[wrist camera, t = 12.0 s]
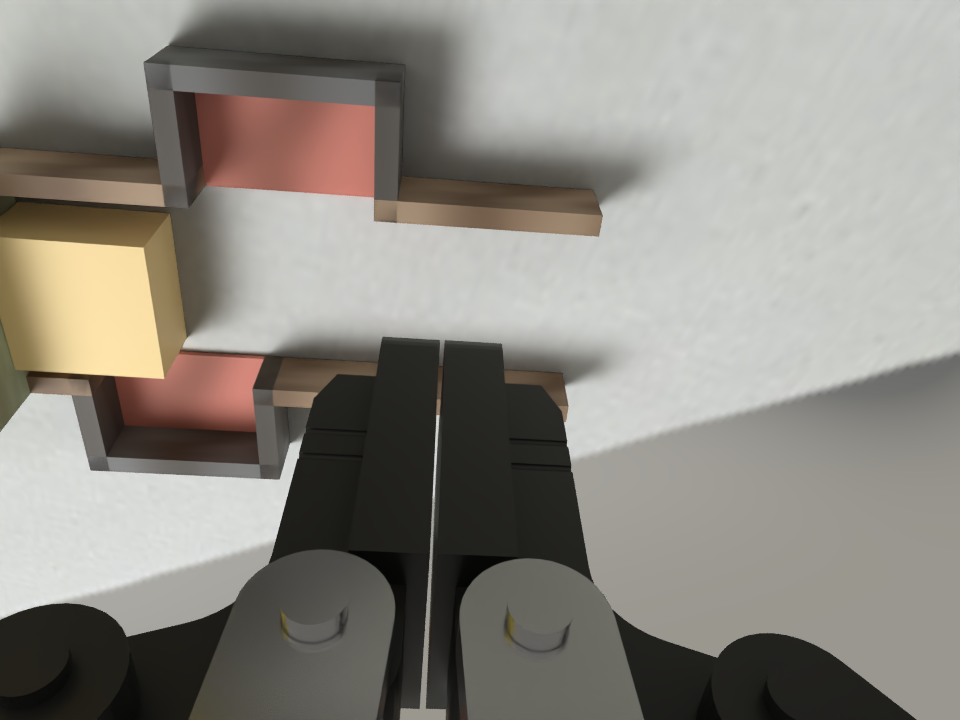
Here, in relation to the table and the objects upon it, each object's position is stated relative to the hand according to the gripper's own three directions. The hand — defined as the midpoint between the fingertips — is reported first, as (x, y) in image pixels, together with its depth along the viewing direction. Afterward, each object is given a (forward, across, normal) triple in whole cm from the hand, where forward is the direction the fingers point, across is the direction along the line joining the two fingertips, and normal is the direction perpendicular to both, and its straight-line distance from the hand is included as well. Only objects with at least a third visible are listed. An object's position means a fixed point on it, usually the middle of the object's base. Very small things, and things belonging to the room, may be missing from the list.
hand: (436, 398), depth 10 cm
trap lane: (+27, +7, +13) cm, 31 cm away
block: (+27, +16, +13) cm, 35 cm away
